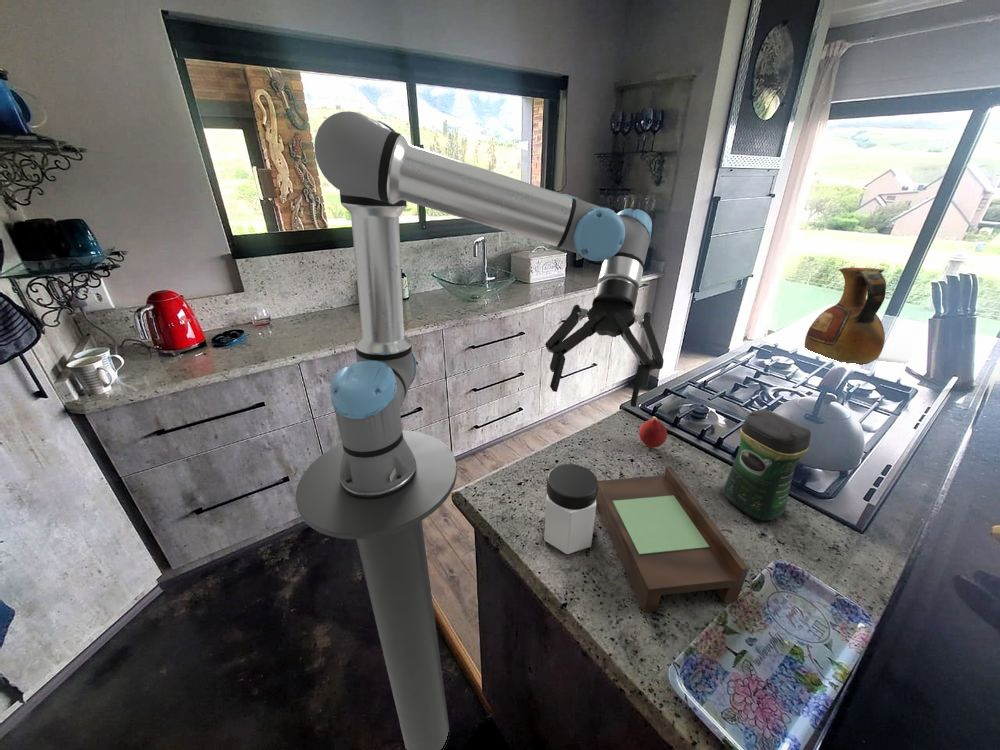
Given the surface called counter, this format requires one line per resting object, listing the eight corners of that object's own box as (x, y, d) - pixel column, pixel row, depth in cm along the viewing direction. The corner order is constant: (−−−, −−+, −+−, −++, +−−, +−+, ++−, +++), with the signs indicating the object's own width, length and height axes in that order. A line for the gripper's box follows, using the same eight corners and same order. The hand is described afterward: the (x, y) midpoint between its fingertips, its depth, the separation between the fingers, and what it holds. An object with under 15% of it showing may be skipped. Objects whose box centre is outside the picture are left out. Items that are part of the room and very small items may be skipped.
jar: (592, 558, 65) (600, 502, 60) (542, 551, 66) (544, 496, 61) (591, 517, 73) (597, 464, 68) (546, 511, 74) (549, 459, 69)
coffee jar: (790, 514, 73) (825, 428, 65) (761, 528, 70) (793, 440, 62) (742, 481, 81) (768, 401, 73) (714, 492, 78) (737, 410, 70)
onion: (664, 443, 93) (670, 413, 89) (662, 457, 88) (669, 426, 85) (638, 437, 95) (643, 408, 91) (635, 451, 90) (640, 421, 87)
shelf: (594, 501, 76) (597, 472, 73) (664, 495, 78) (671, 466, 75) (643, 612, 57) (651, 579, 54) (736, 602, 58) (749, 568, 55)
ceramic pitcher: (847, 348, 142) (882, 261, 128) (891, 373, 124) (937, 275, 110) (788, 347, 143) (816, 261, 130) (823, 371, 125) (860, 274, 112)
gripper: (689, 305, 73) (668, 417, 67) (555, 293, 82) (528, 390, 76) (694, 282, 66) (672, 404, 60) (548, 271, 75) (518, 376, 70)
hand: (591, 396), depth 68 cm, fingers open, 13 cm apart
